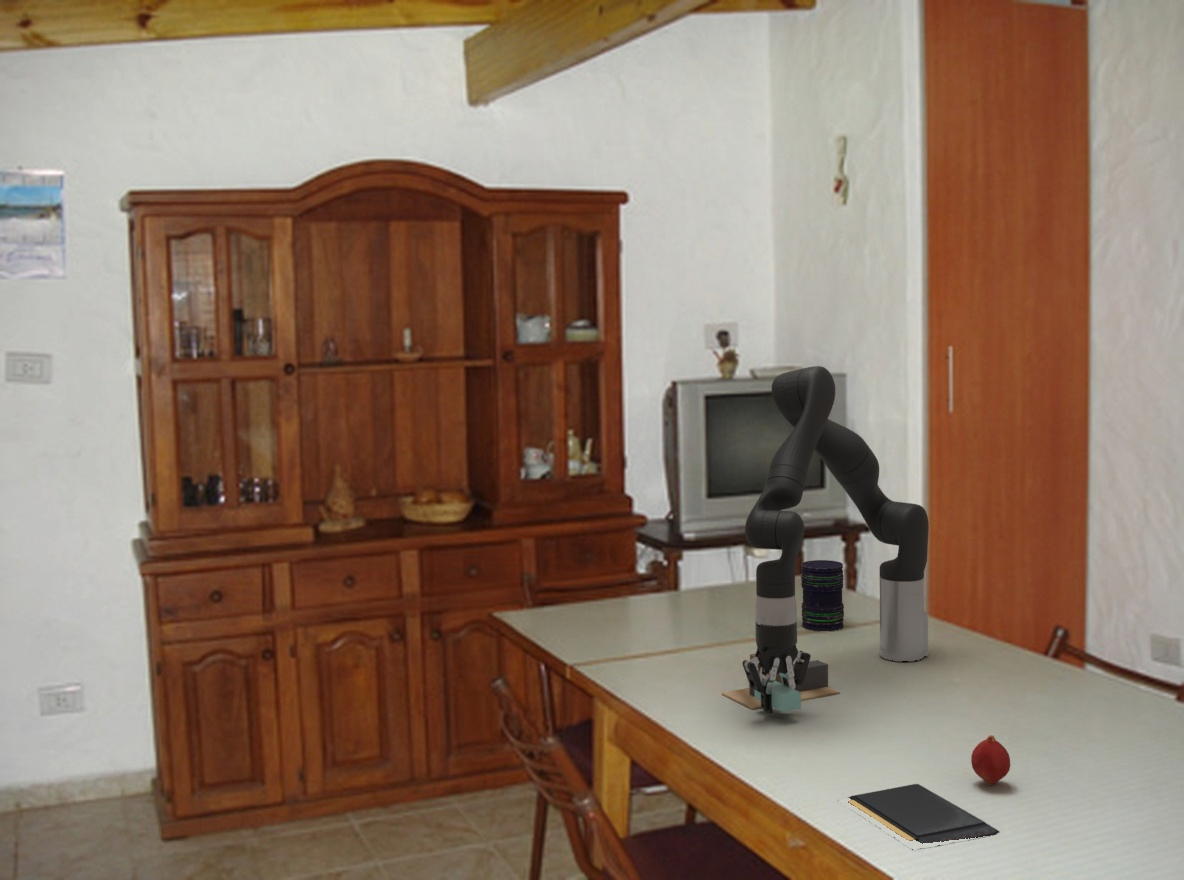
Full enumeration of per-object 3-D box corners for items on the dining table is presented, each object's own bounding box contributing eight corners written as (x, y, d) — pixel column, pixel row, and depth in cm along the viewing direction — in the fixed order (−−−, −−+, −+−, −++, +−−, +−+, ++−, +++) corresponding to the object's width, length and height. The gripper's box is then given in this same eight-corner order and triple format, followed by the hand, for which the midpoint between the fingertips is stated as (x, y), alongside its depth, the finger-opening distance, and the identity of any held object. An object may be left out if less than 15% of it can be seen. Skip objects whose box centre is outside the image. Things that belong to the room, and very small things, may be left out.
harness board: (806, 679, 250) (806, 643, 249) (839, 693, 240) (839, 656, 239) (721, 694, 241) (721, 657, 241) (752, 709, 232) (751, 671, 231)
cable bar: (817, 682, 246) (817, 660, 246) (828, 686, 243) (827, 664, 243) (749, 694, 240) (749, 671, 239) (759, 699, 237) (758, 676, 236)
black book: (1002, 825, 174) (909, 842, 169) (1002, 838, 174) (909, 856, 169) (921, 777, 193) (835, 791, 188) (921, 788, 193) (835, 803, 188)
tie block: (772, 695, 232) (772, 679, 232) (800, 708, 224) (800, 692, 224) (754, 698, 231) (754, 682, 230) (782, 711, 222) (782, 695, 222)
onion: (965, 778, 195) (965, 729, 194) (1000, 776, 195) (1001, 727, 194) (979, 792, 189) (979, 741, 188) (1016, 790, 189) (1016, 739, 189)
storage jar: (850, 624, 293) (849, 562, 292) (835, 633, 285) (834, 569, 284) (811, 619, 299) (810, 558, 297) (794, 628, 290) (794, 566, 289)
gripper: (796, 609, 232) (797, 699, 234) (732, 619, 226) (733, 711, 228) (820, 618, 225) (821, 709, 227) (754, 628, 219) (755, 722, 221)
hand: (777, 709), depth 227 cm, fingers closed on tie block, 3 cm apart
